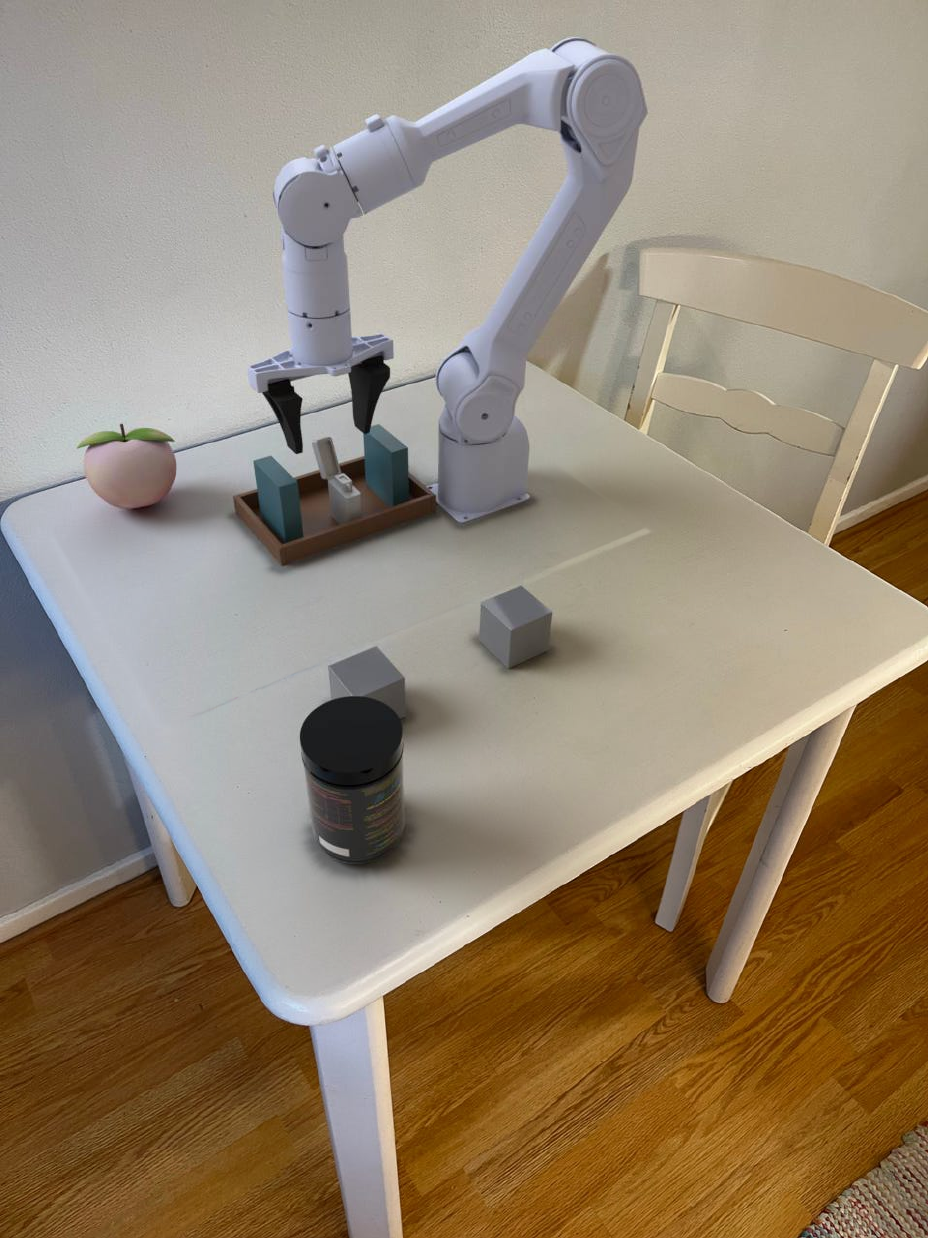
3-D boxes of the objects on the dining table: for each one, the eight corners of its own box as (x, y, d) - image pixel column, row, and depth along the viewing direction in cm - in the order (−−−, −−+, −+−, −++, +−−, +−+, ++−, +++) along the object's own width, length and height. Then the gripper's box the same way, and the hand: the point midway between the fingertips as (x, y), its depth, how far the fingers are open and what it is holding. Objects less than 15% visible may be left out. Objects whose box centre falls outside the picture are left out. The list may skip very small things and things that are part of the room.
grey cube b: (378, 684, 77) (376, 645, 74) (405, 716, 74) (405, 677, 71) (331, 705, 75) (327, 665, 72) (358, 739, 72) (355, 699, 69)
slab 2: (381, 479, 101) (378, 423, 96) (409, 504, 97) (408, 447, 93) (365, 484, 100) (362, 428, 96) (393, 509, 96) (391, 452, 92)
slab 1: (278, 512, 95) (271, 454, 91) (304, 540, 92) (297, 481, 87) (261, 518, 95) (252, 460, 90) (286, 546, 91) (279, 487, 86)
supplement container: (420, 808, 67) (419, 711, 60) (382, 882, 62) (376, 785, 55) (338, 782, 69) (328, 685, 62) (295, 851, 64) (279, 754, 57)
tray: (383, 468, 104) (382, 449, 102) (436, 514, 97) (436, 495, 95) (235, 515, 96) (232, 495, 94) (281, 569, 89) (279, 549, 87)
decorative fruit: (101, 539, 92) (77, 453, 85) (91, 499, 97) (67, 415, 91) (194, 520, 95) (177, 435, 88) (179, 481, 100) (162, 399, 94)
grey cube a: (518, 622, 83) (521, 584, 81) (548, 650, 81) (552, 612, 78) (478, 640, 81) (480, 601, 79) (508, 669, 79) (511, 630, 76)
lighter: (363, 528, 94) (359, 461, 88) (348, 533, 93) (344, 466, 88) (331, 497, 98) (325, 431, 93) (317, 501, 97) (310, 435, 92)
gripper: (264, 338, 76) (281, 476, 85) (409, 305, 83) (411, 436, 92) (230, 311, 81) (250, 445, 90) (370, 281, 87) (376, 409, 96)
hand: (329, 439), depth 91 cm, fingers open, 7 cm apart
